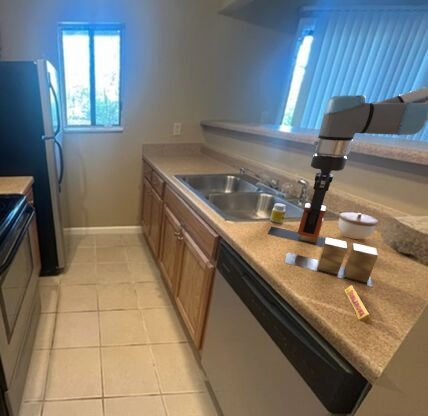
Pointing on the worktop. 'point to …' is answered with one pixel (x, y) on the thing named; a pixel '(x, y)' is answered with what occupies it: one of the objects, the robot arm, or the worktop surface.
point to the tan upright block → (332, 255)
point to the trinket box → (356, 225)
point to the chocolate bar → (357, 305)
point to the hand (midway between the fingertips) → (308, 229)
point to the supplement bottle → (278, 214)
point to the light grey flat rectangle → (313, 264)
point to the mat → (293, 236)
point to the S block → (303, 220)
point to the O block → (310, 237)
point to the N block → (360, 262)
